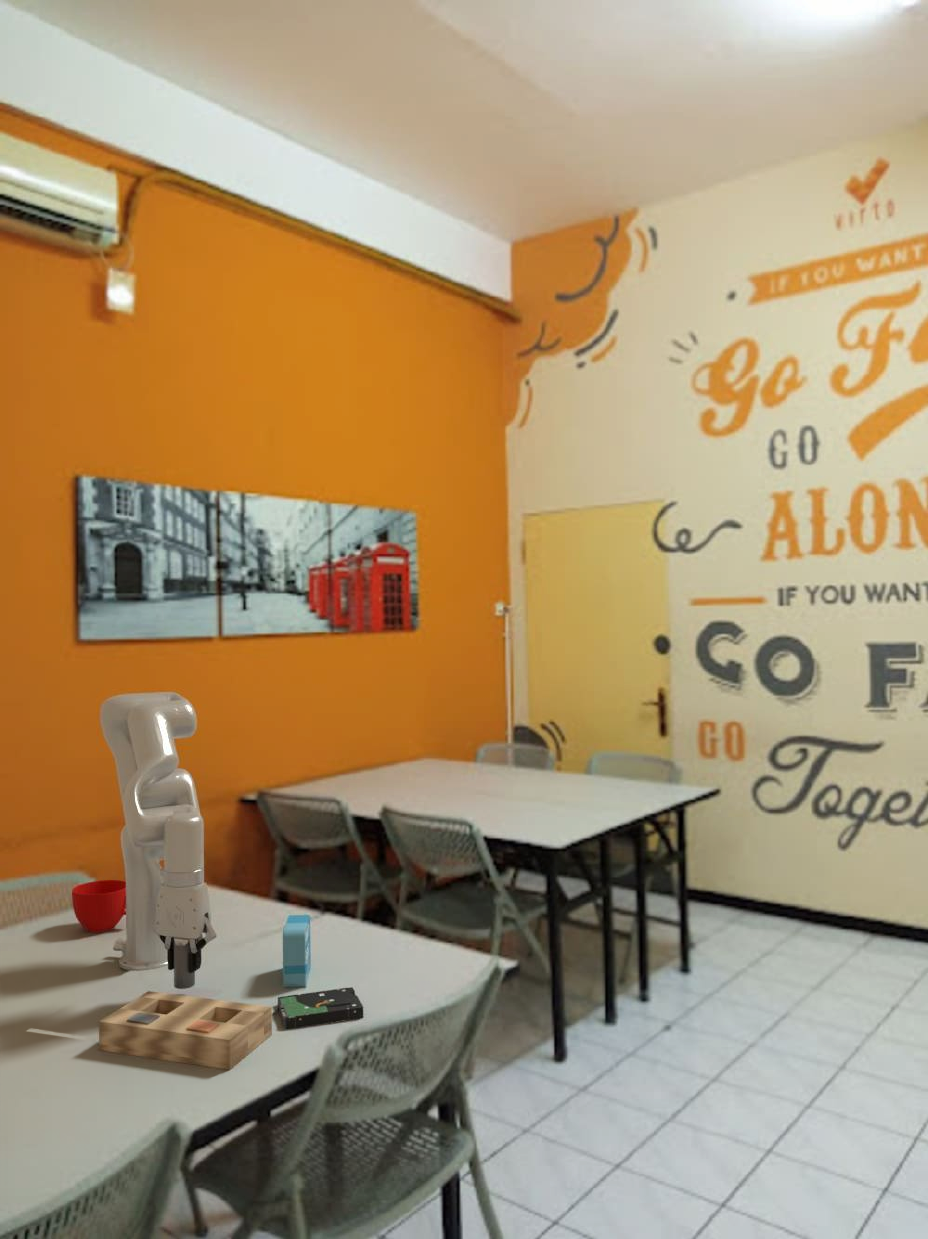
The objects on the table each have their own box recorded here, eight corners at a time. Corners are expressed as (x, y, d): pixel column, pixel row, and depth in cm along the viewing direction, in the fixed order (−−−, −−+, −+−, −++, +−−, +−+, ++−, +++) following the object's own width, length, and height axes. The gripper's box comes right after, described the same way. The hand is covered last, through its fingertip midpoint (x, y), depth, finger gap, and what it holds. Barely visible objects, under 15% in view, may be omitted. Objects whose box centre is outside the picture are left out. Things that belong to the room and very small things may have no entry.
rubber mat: (148, 1007, 185) (148, 1004, 185) (179, 988, 194) (179, 985, 194) (193, 1013, 182) (193, 1010, 182) (222, 993, 191) (222, 990, 191)
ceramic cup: (134, 936, 226) (133, 894, 226) (63, 937, 227) (62, 895, 227) (152, 919, 239) (152, 879, 239) (85, 919, 240) (84, 880, 240)
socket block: (99, 1049, 167) (98, 1019, 167) (149, 1017, 180) (148, 989, 180) (229, 1070, 159) (229, 1038, 159) (271, 1034, 172) (271, 1005, 172)
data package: (305, 990, 193) (305, 930, 193) (283, 991, 192) (282, 931, 192) (310, 968, 205) (310, 912, 205) (289, 969, 204) (288, 913, 204)
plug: (169, 987, 188) (169, 936, 187) (181, 979, 191) (181, 930, 191) (187, 990, 186) (187, 939, 186) (198, 982, 190) (198, 932, 190)
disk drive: (352, 1000, 189) (276, 1010, 184) (352, 986, 189) (276, 996, 184) (364, 1021, 179) (284, 1032, 174) (364, 1006, 179) (284, 1017, 174)
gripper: (136, 878, 187) (136, 970, 188) (210, 886, 182) (210, 981, 183) (159, 867, 194) (159, 957, 195) (231, 875, 189) (231, 967, 190)
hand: (184, 968), depth 189 cm, fingers closed on plug, 4 cm apart
